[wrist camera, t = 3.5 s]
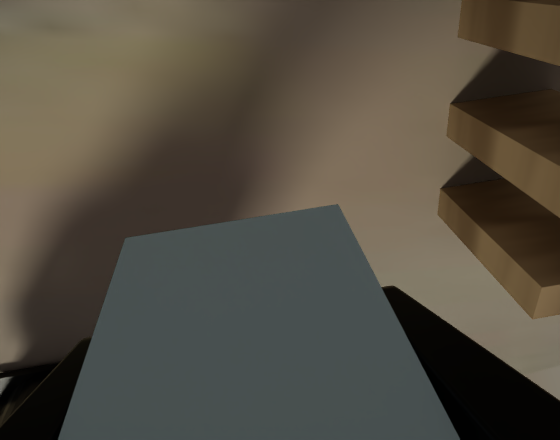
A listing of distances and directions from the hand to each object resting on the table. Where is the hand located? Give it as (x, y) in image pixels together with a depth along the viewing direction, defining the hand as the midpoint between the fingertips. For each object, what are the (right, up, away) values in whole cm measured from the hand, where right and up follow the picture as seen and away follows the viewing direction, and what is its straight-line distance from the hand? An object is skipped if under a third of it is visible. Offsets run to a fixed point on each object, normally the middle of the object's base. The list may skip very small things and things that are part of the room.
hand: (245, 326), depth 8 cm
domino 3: (+11, +7, +12) cm, 18 cm away
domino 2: (+12, +3, +14) cm, 19 cm away
